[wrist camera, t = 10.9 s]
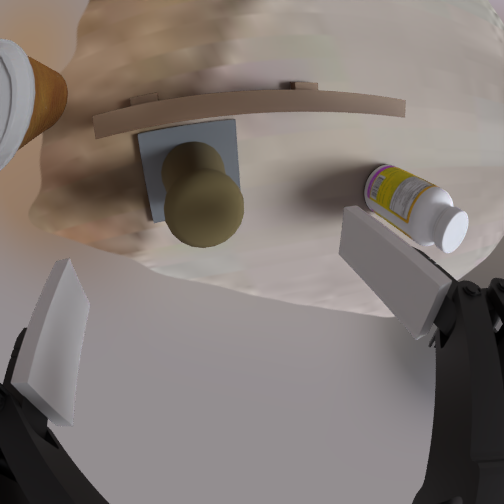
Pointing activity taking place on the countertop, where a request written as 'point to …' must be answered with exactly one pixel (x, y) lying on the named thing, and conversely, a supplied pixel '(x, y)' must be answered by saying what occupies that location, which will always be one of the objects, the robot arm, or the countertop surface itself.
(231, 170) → the coaster
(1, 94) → the disposable coffee cup
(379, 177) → the supplement bottle
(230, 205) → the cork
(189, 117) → the screen
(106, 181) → the countertop surface
